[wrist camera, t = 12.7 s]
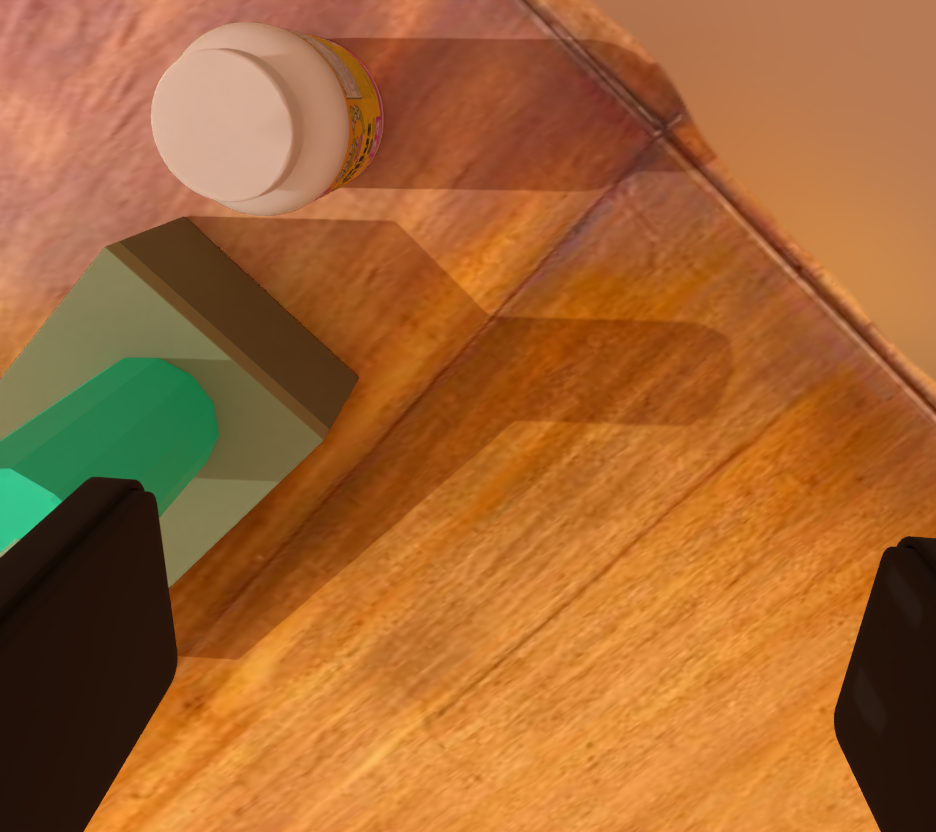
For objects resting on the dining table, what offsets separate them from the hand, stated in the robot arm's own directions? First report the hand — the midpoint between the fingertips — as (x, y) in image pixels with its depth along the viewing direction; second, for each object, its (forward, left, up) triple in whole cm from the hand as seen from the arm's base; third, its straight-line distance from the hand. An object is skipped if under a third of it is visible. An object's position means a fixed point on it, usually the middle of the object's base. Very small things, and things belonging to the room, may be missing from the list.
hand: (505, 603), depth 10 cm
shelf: (+15, -22, -30) cm, 40 cm away
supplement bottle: (-4, -10, -31) cm, 32 cm away
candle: (+8, -16, -22) cm, 29 cm away
